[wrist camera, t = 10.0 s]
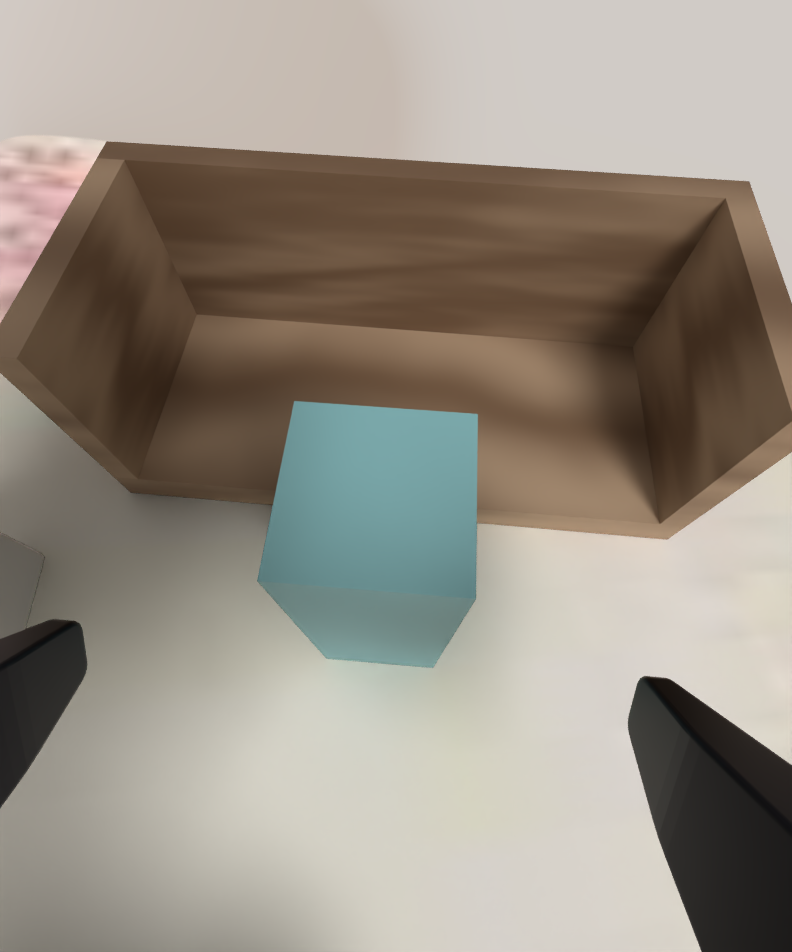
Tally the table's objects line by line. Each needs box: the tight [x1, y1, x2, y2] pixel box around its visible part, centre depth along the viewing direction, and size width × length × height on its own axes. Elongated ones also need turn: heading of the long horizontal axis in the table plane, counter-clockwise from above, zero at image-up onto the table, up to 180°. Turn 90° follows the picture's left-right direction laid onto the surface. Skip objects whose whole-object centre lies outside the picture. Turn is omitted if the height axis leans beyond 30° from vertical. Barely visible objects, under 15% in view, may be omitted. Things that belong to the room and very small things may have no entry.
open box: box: [0, 142, 792, 539], centre depth 20 cm, size 10×23×9 cm, turn 85°
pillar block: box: [257, 401, 478, 668], centre depth 15 cm, size 4×4×11 cm
